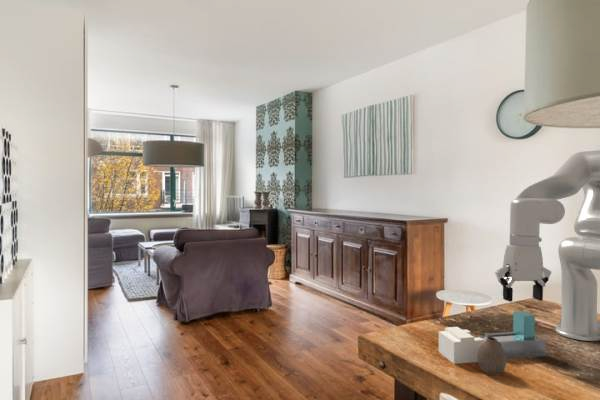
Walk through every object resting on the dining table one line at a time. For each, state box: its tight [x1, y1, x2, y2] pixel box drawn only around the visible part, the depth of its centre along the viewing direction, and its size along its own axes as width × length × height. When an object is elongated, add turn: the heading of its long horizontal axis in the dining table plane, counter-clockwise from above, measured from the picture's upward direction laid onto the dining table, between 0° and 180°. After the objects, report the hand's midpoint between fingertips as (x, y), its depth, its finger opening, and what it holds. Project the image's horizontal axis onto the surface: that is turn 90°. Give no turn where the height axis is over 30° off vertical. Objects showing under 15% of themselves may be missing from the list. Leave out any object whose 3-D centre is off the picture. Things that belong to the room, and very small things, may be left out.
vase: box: [477, 337, 507, 376], centre depth 105 cm, size 7×7×9 cm
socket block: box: [438, 326, 484, 365], centre depth 114 cm, size 9×8×7 cm
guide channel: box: [484, 331, 547, 360], centre depth 117 cm, size 14×8×4 cm, turn 99°
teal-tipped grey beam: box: [482, 310, 536, 342], centre depth 117 cm, size 14×4×10 cm, turn 99°
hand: (522, 299), depth 117 cm, fingers open, 9 cm apart
